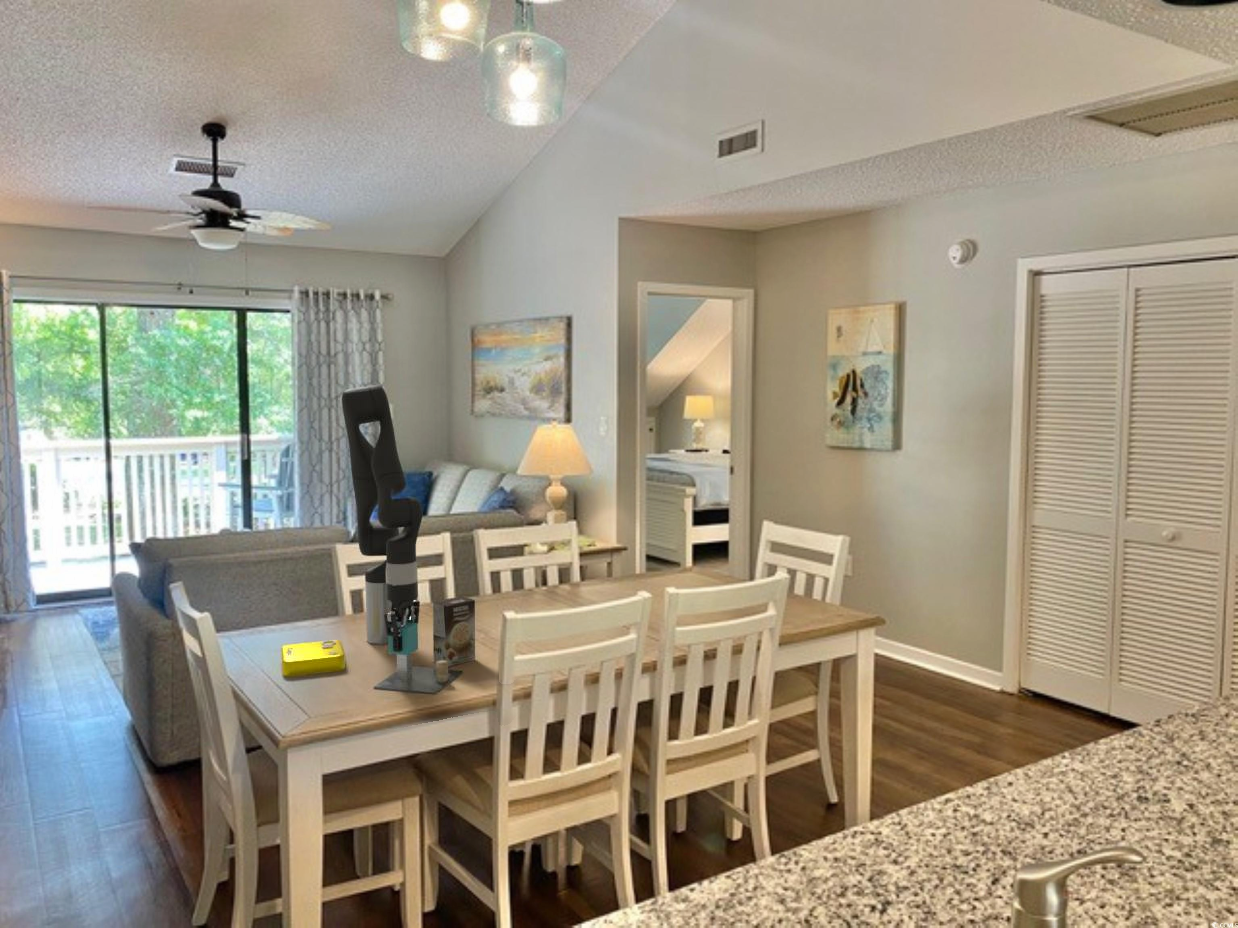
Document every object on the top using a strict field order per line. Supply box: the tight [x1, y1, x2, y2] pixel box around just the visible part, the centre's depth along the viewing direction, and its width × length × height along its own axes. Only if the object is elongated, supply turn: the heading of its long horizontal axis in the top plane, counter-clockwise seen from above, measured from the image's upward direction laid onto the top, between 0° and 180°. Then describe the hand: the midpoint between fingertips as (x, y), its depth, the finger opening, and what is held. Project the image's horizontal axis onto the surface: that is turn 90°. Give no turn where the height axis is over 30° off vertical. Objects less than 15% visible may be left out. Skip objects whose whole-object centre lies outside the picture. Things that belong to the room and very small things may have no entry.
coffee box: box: [432, 596, 476, 667], centre depth 237 cm, size 9×6×16 cm
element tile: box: [280, 639, 346, 678], centre depth 235 cm, size 15×15×5 cm
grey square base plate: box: [373, 652, 464, 695], centre depth 223 cm, size 16×16×7 cm
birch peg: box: [435, 661, 449, 683], centre depth 222 cm, size 3×3×5 cm
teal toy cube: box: [387, 622, 419, 655], centre depth 223 cm, size 5×5×7 cm
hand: (403, 647), depth 223 cm, fingers closed on teal toy cube, 5 cm apart
